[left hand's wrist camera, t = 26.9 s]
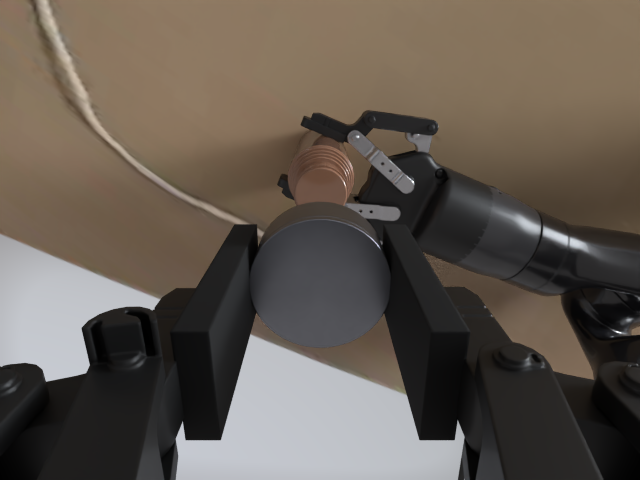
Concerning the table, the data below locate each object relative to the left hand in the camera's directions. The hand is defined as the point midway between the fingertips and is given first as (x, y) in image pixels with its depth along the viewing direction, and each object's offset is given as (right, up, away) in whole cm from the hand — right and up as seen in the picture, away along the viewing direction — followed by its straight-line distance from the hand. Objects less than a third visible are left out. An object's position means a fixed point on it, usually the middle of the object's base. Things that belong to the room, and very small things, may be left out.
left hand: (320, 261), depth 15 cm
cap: (0, -1, -1) cm, 2 cm away
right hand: (-2, +8, +21) cm, 22 cm away
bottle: (0, +9, +27) cm, 28 cm away
